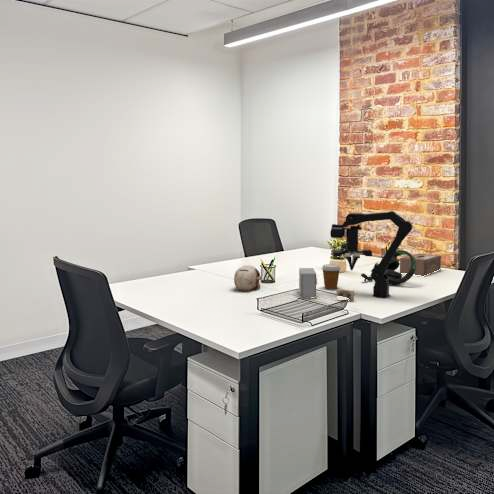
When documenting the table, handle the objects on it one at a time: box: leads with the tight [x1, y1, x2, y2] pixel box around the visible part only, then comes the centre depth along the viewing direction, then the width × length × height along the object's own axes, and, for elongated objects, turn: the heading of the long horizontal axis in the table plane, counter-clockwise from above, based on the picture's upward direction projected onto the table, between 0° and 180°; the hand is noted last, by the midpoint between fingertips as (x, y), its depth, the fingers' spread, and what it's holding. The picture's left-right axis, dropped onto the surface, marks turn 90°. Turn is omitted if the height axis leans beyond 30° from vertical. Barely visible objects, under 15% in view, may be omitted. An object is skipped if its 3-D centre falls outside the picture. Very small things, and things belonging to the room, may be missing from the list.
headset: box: [360, 249, 416, 286], centre depth 283 cm, size 18×14×29 cm
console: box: [298, 267, 317, 299], centre depth 258 cm, size 8×16×12 cm, turn 178°
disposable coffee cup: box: [321, 263, 341, 291], centre depth 273 cm, size 10×10×12 cm
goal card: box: [335, 288, 355, 303], centre depth 244 cm, size 8×1×5 cm, turn 63°
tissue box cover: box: [399, 252, 442, 277], centre depth 318 cm, size 26×14×10 cm, turn 138°
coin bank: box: [233, 265, 262, 292], centre depth 273 cm, size 16×17×13 cm
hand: (351, 270), depth 258 cm, fingers closed
